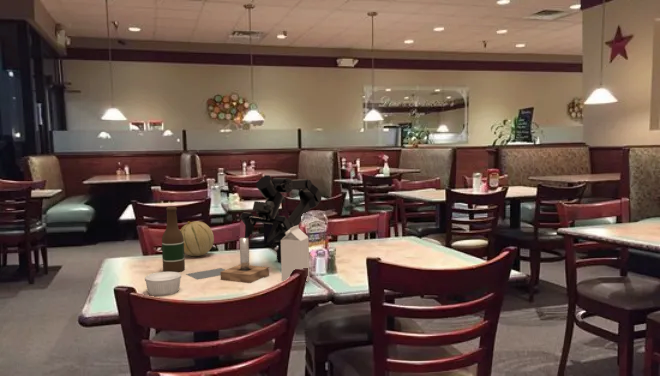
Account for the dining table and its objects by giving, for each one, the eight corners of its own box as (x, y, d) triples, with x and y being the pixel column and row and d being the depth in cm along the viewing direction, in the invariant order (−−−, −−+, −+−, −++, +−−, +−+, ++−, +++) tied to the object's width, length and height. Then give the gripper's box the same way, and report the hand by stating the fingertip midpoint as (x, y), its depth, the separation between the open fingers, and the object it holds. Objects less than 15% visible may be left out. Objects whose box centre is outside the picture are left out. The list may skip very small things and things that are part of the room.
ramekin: (161, 298, 164) (161, 281, 164) (137, 293, 170) (136, 277, 170) (189, 290, 174) (188, 273, 173) (165, 285, 180) (164, 270, 179)
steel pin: (247, 276, 189) (246, 237, 188) (250, 278, 187) (249, 238, 186) (239, 277, 188) (238, 238, 187) (242, 279, 185) (241, 239, 184)
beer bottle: (189, 270, 200) (186, 206, 198) (175, 274, 193) (172, 208, 191) (173, 268, 204) (170, 205, 202) (158, 272, 197) (155, 207, 195)
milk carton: (309, 280, 182) (308, 225, 181) (301, 286, 175) (300, 228, 174) (290, 279, 184) (288, 224, 183) (281, 284, 178) (280, 227, 176)
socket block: (240, 272, 195) (240, 264, 195) (269, 275, 190) (268, 267, 190) (220, 280, 185) (220, 271, 184) (250, 283, 179) (250, 275, 179)
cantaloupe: (221, 255, 226) (220, 219, 225) (191, 261, 215) (190, 224, 214) (200, 250, 236) (199, 216, 235) (171, 256, 225) (169, 221, 224)
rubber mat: (221, 268, 202) (221, 268, 202) (233, 273, 194) (233, 272, 194) (185, 274, 193) (185, 274, 193) (197, 280, 185) (197, 279, 185)
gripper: (242, 190, 201) (225, 225, 192) (286, 194, 193) (271, 230, 185) (253, 208, 209) (238, 242, 201) (296, 212, 202) (282, 247, 193)
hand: (256, 240), depth 195 cm, fingers open, 9 cm apart
